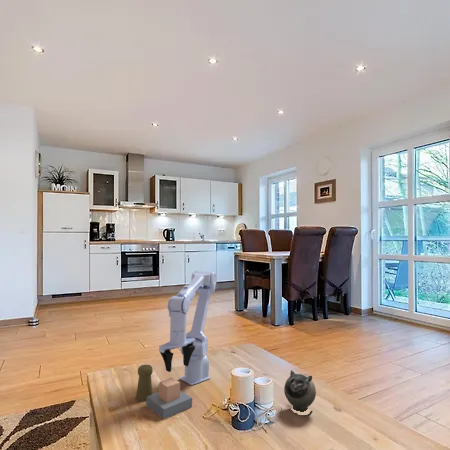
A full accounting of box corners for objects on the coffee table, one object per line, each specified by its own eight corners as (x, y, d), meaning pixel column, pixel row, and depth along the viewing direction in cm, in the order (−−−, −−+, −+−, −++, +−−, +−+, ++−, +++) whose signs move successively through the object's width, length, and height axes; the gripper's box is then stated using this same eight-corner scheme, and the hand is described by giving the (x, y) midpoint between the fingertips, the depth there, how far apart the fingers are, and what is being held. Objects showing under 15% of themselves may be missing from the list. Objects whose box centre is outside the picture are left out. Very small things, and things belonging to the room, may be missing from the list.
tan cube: (179, 397, 109) (180, 382, 109) (167, 402, 105) (167, 386, 106) (171, 392, 112) (171, 377, 113) (158, 397, 109) (159, 381, 109)
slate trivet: (173, 395, 117) (173, 386, 117) (191, 406, 109) (192, 397, 109) (146, 405, 109) (146, 396, 109) (163, 419, 101) (164, 409, 101)
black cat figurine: (282, 415, 105) (315, 421, 101) (281, 377, 105) (314, 381, 102) (286, 401, 114) (317, 405, 111) (286, 366, 115) (316, 369, 111)
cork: (148, 402, 111) (149, 369, 112) (132, 400, 113) (133, 368, 113) (155, 394, 117) (156, 363, 118) (140, 392, 118) (141, 361, 119)
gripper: (187, 324, 125) (186, 360, 124) (154, 331, 115) (153, 370, 114) (199, 328, 120) (198, 365, 119) (165, 335, 110) (164, 376, 109)
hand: (177, 368), depth 116 cm, fingers open, 7 cm apart
